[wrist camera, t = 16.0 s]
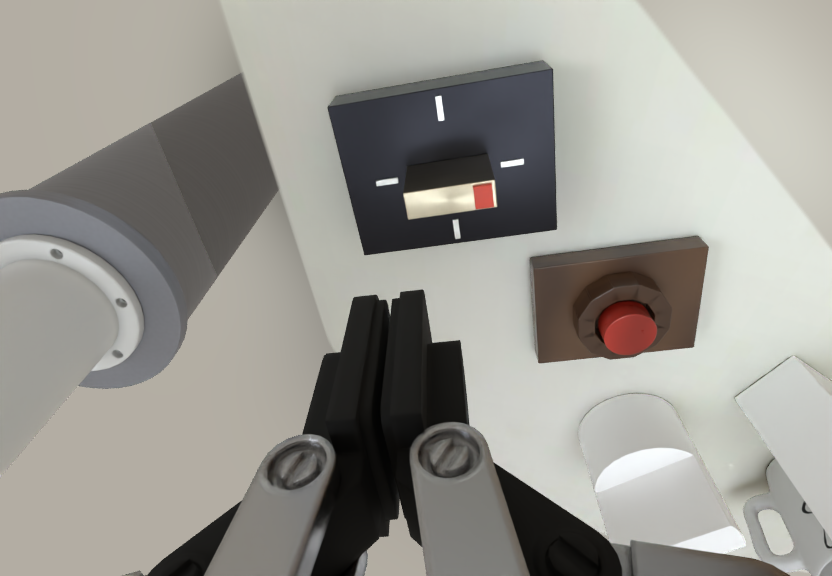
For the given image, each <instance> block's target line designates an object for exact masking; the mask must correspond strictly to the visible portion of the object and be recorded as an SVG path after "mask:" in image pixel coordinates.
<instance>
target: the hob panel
mask: <svg viewBox="0 0 832 576" xmlns="http://www.w3.org/2000/svg"><path fill="white" fill-rule="evenodd" d="M328 111H329V115H330V119H331V123H332V127H333V131H334V135H335V139H336V143H337V147H338V151H339V155H340V159H341V163H342V167H343V171H344V175H345V179H346V183H347V187H348V191H349V195H350V199H351V203H352V207H353V211H354V215H355V219H356V223H357V227H358V231H359V235H360V239H361V243H362V247H363V251H364V255H371V254H378V253H386V252H393V251H401V250H408V249H416V248H423V247H431V246H438V245H446V244H453V243H461V242H468V241H476V240H483V239H490V238H498V237H505V236H513V235H520V234H528V233H535V232H543V231H550V230H557V213H556V173H555V134H554V95H553V69H552V68H551V67H550V66H549V65H548V64H547V63H546V62H544V61H543V60H542V61H536V62H531V63H525V64H519V65H513V66H507V67H502V68H496V69H490V70H484V71H478V72H473V73H467V74H461V75H455V76H449V77H444V78H438V79H432V80H426V81H420V82H414V83H409V84H403V85H397V86H391V87H385V88H380V89H374V90H368V91H362V92H356V93H351V94H345V95H339V96H336V97H335V98H334V99H333V101H332V102H331V103H330V105H329V106H328ZM483 154H488V156H489V160H490V163H491V167H492V171H493V175H494V178H495V185H496V196H497V207H494V208H487V209H480V210H473V211H466V212H459V213H452V214H445V215H438V216H431V217H424V218H417V219H410V220H408V217H407V212H406V207H405V201H404V196H403V191H404V184H405V177H406V171H407V166H412V165H419V164H425V163H432V162H438V161H444V160H451V159H457V158H464V157H470V156H477V155H483Z"/></svg>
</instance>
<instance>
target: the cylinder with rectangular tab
mask: <svg viewBox="0 0 832 576" xmlns="http://www.w3.org/2000/svg"><path fill="white" fill-rule="evenodd" d="M578 435H579V441H580V445H581V448H582V451H583V455H584V458H585V461H586V465H587V468H588V471H589V475H590V478H591V481H592V485H593V488H594V491H595V495H596V498H597V501H598V505H599V508H600V511H601V515H602V518H603V521H604V525H605V528H606V531H607V535H608V538H609V541H610V543H615V544H621V545H628V546H630V541H631V540H635V541H641V542H648V543H654V544H661V545H667V546H674V547H680V548H687V549H694V550H700V551H707V552H713V553H720V554H724V553H727V552H730V551H733V550H737V549H740V548H743V547H746V542H745V539H744V537H743V535H742V533H741V531H740V529H739V527H738V525H737V523H736V521H735V520H734V518H733V516H732V514H731V512H730V510H729V508H728V507H727V505H726V503H725V501H724V499H723V497H722V495H721V494H720V492H719V490H718V488H717V486H716V484H715V482H714V481H713V479H712V477H711V475H710V473H709V471H708V469H707V467H706V466H705V464H704V462H703V460H702V458H701V456H700V454H699V453H698V451H697V449H696V447H695V445H694V443H693V441H692V440H691V438H690V436H689V434H688V432H687V430H686V428H685V427H684V425H683V423H682V421H681V419H680V417H679V415H678V414H677V412H676V410H675V408H674V407H673V406H672V405H671V404H670V403H669V402H667V401H665V400H664V399H662V398H660V397H657V396H653V395H649V394H634V393H632V394H626V395H620V396H616V397H613V398H611V399H608V400H605V401H603V402H602V403H600V404H598V405H597V406H595V407H594V408H593V409H591V410H590V411H589V412H588V413H587V414H586V415H585V417H584V418H583V420H582V421H581V423H580V427H579V431H578Z"/></svg>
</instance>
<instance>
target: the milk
mask: <svg viewBox="0 0 832 576" xmlns="http://www.w3.org/2000/svg"><path fill="white" fill-rule="evenodd" d="M735 400H736V402H737V403H738V405H739V406H740V408H741V409H742V411H743V412H744V413H745V415H746V416H747V418H748V419H749V421H750V422H751V424H752V425H753V427H754V428H755V429H756V431H757V432H758V434H759V435H760V437H761V438H762V440H763V441H764V443H765V444H766V445H767V447H768V448H769V450H770V451H771V453H772V454H773V456H774V457H775V459H776V460H777V461H778V463H779V464H780V466H781V467H782V469H783V470H784V472H785V473H786V475H787V476H788V477H789V479H790V480H791V482H792V483H793V485H794V486H795V488H796V489H797V491H798V492H799V494H800V495H801V496H802V498H803V499H804V501H805V502H806V504H807V505H808V507H809V508H810V510H811V511H812V512H813V514H814V515H815V517H816V518H817V520H818V521H819V523H820V524H821V526H822V527H823V528H824V530H825V531H826V533H827V534H828V536H829V537H830V539H831V540H832V381H831V380H829V379H828V378H826V377H825V376H823V375H822V374H820V373H819V372H817V371H816V370H815V369H813V368H812V367H810V366H809V365H807V364H806V363H804V362H803V361H801V360H800V359H798V358H797V357H795V356H792V357H790V358H789V359H787V360H786V361H785V362H783V363H782V364H781V365H779V366H778V367H776V368H775V369H774V370H772V371H771V372H770V373H768V374H767V375H765V376H764V377H763V378H761V379H760V380H758V381H757V382H756V383H754V384H753V385H752V386H750V387H749V388H747V389H746V390H745V391H743V392H742V393H741V394H739V395H738V396H736V397H735Z"/></svg>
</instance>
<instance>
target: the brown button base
mask: <svg viewBox="0 0 832 576" xmlns="http://www.w3.org/2000/svg"><path fill="white" fill-rule="evenodd" d="M708 248H709V247H708V245H707V244H706V243H705V242H704V241H703V240H702V239H701V238H700V237H699V236H695V237H687V238H679V239H672V240H664V241H656V242H648V243H640V244H633V245H625V246H617V247H609V248H601V249H594V250H586V251H578V252H570V253H562V254H555V255H547V256H539V257H531V258H530V268H531V285H532V303H533V320H534V337H535V351H536V355H537V359H538V363H548V362H558V361H567V360H577V359H586V358H596V357H604V358H607V359H620V358H630V357H634V356H637V355H639V354H641V353H644V352H654V351H663V350H673V349H683V348H692V347H694V342H695V335H696V329H697V322H698V315H699V309H700V302H701V295H702V288H703V282H704V275H705V268H706V262H707V255H708ZM620 301H635V302H638V303H640V304H642V305H643V306H644V307H645V308H646V309H647V311H648V312H649V314H650V315H651V317H652V319H653V320H654V322H655V324H656V326H657V335H656V338H655V340H654V341H653V343H652V344H651V345H650V346H649V347H648V348H646V349H645V350H643V351H641V352H639V353H636V354H632V355H620V354H616V353H614V352H612V351H610V350H609V349H608V348H607V347H606V345H605V343H604V341H603V338H602V336H601V334H600V332H599V329H598V320H599V317H600V315H601V314H602V312H603V311H604V310H605V309H606V308H608V307H609V306H610V305H612V304H614V303H617V302H620Z"/></svg>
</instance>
